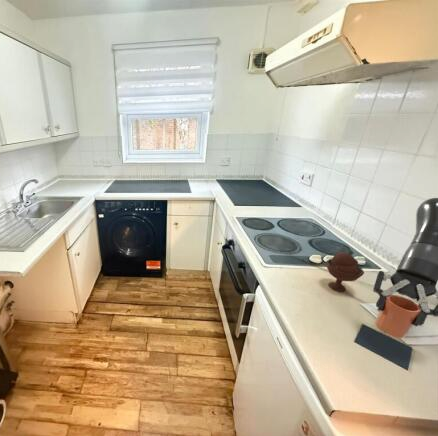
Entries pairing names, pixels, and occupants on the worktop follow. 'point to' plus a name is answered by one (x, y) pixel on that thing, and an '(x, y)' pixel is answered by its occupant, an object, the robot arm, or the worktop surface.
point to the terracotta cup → (397, 316)
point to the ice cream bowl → (343, 270)
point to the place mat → (384, 346)
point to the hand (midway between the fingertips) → (396, 316)
